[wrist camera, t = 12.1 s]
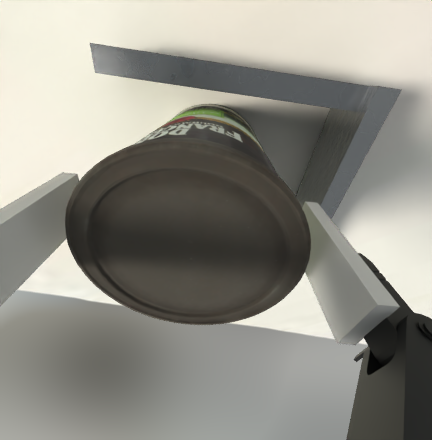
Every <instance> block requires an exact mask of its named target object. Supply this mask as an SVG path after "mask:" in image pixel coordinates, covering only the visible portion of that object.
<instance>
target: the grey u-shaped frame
mask: <svg viewBox="0 0 432 440" xmlns="http://www.w3.org/2000/svg"><path fill="white" fill-rule="evenodd" d="M90 46H91V52H92V58H93V63H94V69H95V73H100V74H106V75H113V76H120V77H126V78H133V79H140V80H147V81H153V82H160V83H167V84H173V85H180V86H187V87H194V88H200V89H207V90H214V91H220V92H227V93H234V94H241V95H247V96H254V97H261V98H267V99H274V100H281V101H288V102H294V103H301V104H308V105H314V106H321V107H328V108H331V109H330V111H329V114H328V116H327V119H326V121H325V124H324V126H323V129H322V132H321V134H320V137H319V139H318V142H317V144H316V147H315V149H314V152H313V154H312V157H311V159H310V162H309V165H308V167H307V170H306V172H305V175H304V177H303V180H302V182H301V185H300V187H299V190H298V193H297V195H296V198H297V199H298V201H299V203H300V205H301V207H302V208H303V205H304V203H305V201H306V202H315V203H318V204H319V205H320V206H321V208H322V209H323V210H324V212H325V213H326V214H327V215H328V217H329V218H330V219H332V217H333V215H334V213H335V211H336V209H337V208H338V206H339V204H340V202H341V200H342V198H343V197H344V195H345V193H346V191H347V189H348V187H349V186H350V184H351V182H352V180H353V178H354V176H355V175H356V173H357V171H358V169H359V167H360V165H361V164H362V162H363V160H364V158H365V156H366V154H367V152H368V151H369V149H370V147H371V145H372V143H373V141H374V140H375V138H376V136H377V134H378V132H379V130H380V129H381V127H382V125H383V123H384V121H385V119H386V118H387V116H388V114H389V112H390V110H391V108H392V107H393V105H394V103H395V101H396V99H397V97H398V96H399V94H400V92H401V90H400V89H393V88H387V87H380V86H364V85H358V84H351V83H345V82H339V81H332V80H326V79H319V78H313V77H306V76H300V75H293V74H287V73H281V72H274V71H268V70H261V69H255V68H248V67H242V66H235V65H229V64H222V63H216V62H210V61H203V60H197V59H190V58H184V57H177V56H171V55H164V54H158V53H151V52H145V51H139V50H132V49H126V48H119V47H113V46H106V45H100V44H93V43H90Z"/></svg>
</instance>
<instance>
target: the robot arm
mask: <svg viewBox="0 0 432 440" xmlns="http://www.w3.org/2000/svg"><path fill="white" fill-rule="evenodd" d="M78 182H79V179H78V175H77V174H72V173H64V172H63V173H61V174H59V175H58V176H56V177H54V178H53V179H51V180H49V181H47V182H46V183H44V184H42V185H41V186H39V187H37V188H36V189H34V190H32V191H30V192H29V193H27V194H25V195H24V196H22V197H20V198H19V199H17V200H15V201H13V202H12V203H10V204H8V205H7V206H5V207H3V208H2V209H0V306H1V305H2V304H3V303H4V302H5V301H6V300H7V299H8V298H9V297H10V296H11V295H12V294H13V293H14V292H15V291H16V290H17V289H18V288H19V287H20V286H21V285H22V284H23V283H24V282H25V281H26V280H27V279H28V278H29V277H30V276H31V274H32V273H33V272H34V271H35V270H36V269H37V268H38V267H39V266H40V265H41V264H42V263H43V262H44V261H45V260H46V259H47V258H48V257H49V256H50V255H51V254H52V253H53V252H54V251H55V250H56V249H57V248H58V247H59V246H60V245H61V244H62V243H63V241H64V240H65V239H66V238H67V237H66V228H65V214H66V207H67V205H68V201H69V199H70V197H71V195H72V192H73V190H74V188H75V187H76V185H77V184H78ZM302 209H303V211H304V213H305V216H306V219H307V222H308V225H309V229H310V235H311V251H310V259H309V262H308V265H307V267H306V270H305V272H306V275H307V277H308V279H309V282H310V284H311V286H312V288H313V291H314V293H315V295H316V297H317V300H318V302H319V304H320V306H321V309H322V311H323V313H324V315H325V318H326V320H327V322H328V324H329V327H330V329H331V331H332V333H333V336H334V338H335V340H336V342H337V344H348V345H356V344H357V343H358V342H359V341H361V340H362V339H363V338H364V339H365V340H366V342H367V344H368V347H367V348H366V349H364V350H363V351H362V352H360V353H359V354H358V355H357V356H356V357H355V359H354V360H355V361H356V362H357V361H358V360H360V359H361V358H363V360H362V365H361V370H360V375H359V380H358V385H357V390H356V394H355V400H354V405H353V409H352V414H351V419H350V424H349V429H348V434H347V440H432V319H431V318H429V317H426V316H424V315H422V314H417V313H414V312H413V311H412V310H411V309H410V307H409V306H408V305H407V304H406V303H405V301H404V300H403V299H402V298H401V297H400V295H399V294H398V293H397V292H396V291H395V289H394V288H393V287H392V286H391V285H390V283H389V282H388V281H386V279H385V277H384V276H383V275H382V274H381V273H379V270H378V269H377V268H376V267H375V265H374V264H373V263H372V262H371V261H370V260H369V259H367V258H366V257H365V256H363V255H362V254H361V253H357V252H356V251H355V249H354V248H353V247H352V246H351V244H350V243H349V242H348V240H347V239H346V238H345V237H344V235H343V234H342V233H341V232H340V230H339V229H338V228H337V227H336V225H335V224H334V223H333V222H332V220H331V219H330V218H329V217H328V215H327V214H326V213H325V212H324V210H323V209H322V208H321V206H320V205H319V204H318V203H315V202H306V201H305V203H304V205H303V208H302Z"/></svg>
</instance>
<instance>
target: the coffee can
mask: <svg viewBox="0 0 432 440" xmlns="http://www.w3.org/2000/svg"><path fill="white" fill-rule="evenodd" d="M65 228H66V237H67V242H68V245H69V248H70V250H71V253H72V255H73V257H74V259H75V261H76V262H77V264H78V266H79V267H80V268H81V269H82V271H83V272H84V274H85V275H86V276H87V277H88V278H89V279H90V281H91V282H92V283H93V284H94V285H95V286H96V287H98V288H99V289H100V290H101V291H103V292H104V293H105V294H106V295H108V296H109V297H111V298H112V299H114V300H115V301H117V302H118V303H120V304H122V305H124V306H126V307H128V308H130V309H132V310H134V311H136V312H139V313H141V314H144V315H147V316H150V317H152V318H157V319H160V320H164V321H169V322H174V323H181V324H191V325H192V324H193V325H213V324H224V323H230V322H235V321H239V320H243V319H246V318H249V317H252V316H255V315H257V314H259V313H261V312H264V311H266V310H267V309H269V308H271V307H272V306H274V305H276V304H277V303H278V302H280V301H281V300H282V299H284V298H285V297H286V296H287V295H288V294H289V293H290V292H291V291H292V290H293V289H294V287H295V286H296V285H297V284H298V282H299V281H300V280H301V278H302V276H303V274H304V272H305V270H306V267H307V265H308V262H309V259H310V251H311V235H310V229H309V225H308V222H307V219H306V216H305V213H304V211H303V209H302V207H301V205H300V203H299V201H298V199H297V198H296V196H295V195H294V194H293V192H292V191H291V190H290V189H289V187H288V186H287V185H286V184H285V182H284V181H283V180H282V179H281V178H280V177H279V176H278V174H277V173H276V171H275V169H274V167H273V166H272V164H271V162H270V160H269V159H268V157H267V156H266V154H265V152H264V151H263V149H262V147H261V145H260V144H259V142H258V140H257V138H256V136H255V134H254V132H253V130H252V128H251V127H250V125H249V124H248V123H247V122H246V121H245V120H244V119H243V118H242V117H241V116H240V115H239V114H237V113H236V112H234V111H233V110H230V109H228V108H226V107H223V106H219V105H213V104H203V105H196V106H192V107H190V108H187V109H185V110H183V111H182V112H180V113H179V114H177V115H176V116H175V117H174V118H173V119H172V120H170V121H169V122H167V123H166V124H164V125H163V126H161V127H160V128H158V129H157V130H155V131H153V132H152V133H150V134H149V135H147V136H146V137H144V138H143V139H141V140H140V141H138V142H137V143H135V144H134V145H131V146H129V147H126V148H124V149H122V150H120V151H118V152H116V153H114V154H112V155H110V156H108V157H106V158H105V159H103V160H102V161H100V162H99V163H98V164H96V165H95V166H94V167H93V168H92V169H90V170H89V171H88V172H87V173H86V174H85V175H84V176H83V177H82V178H81V180H80V181H79V182H78V184H77V185H76V187H75V188H74V190H73V192H72V195H71V197H70V199H69V201H68V205H67V207H66V214H65Z"/></svg>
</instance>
